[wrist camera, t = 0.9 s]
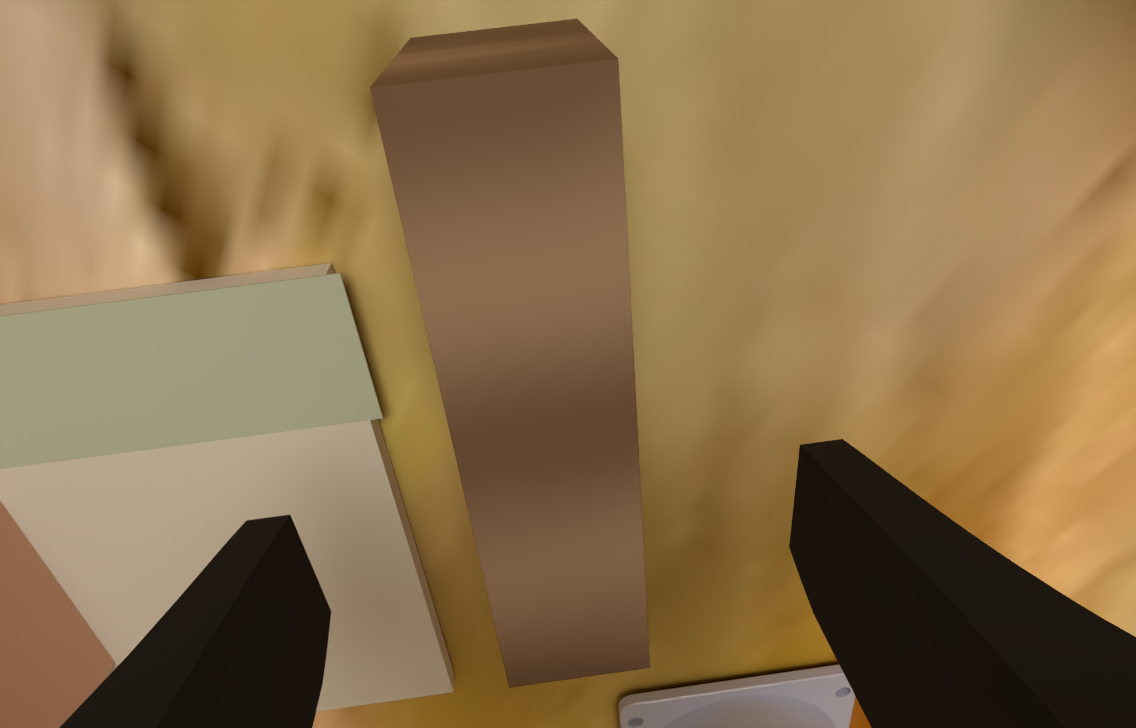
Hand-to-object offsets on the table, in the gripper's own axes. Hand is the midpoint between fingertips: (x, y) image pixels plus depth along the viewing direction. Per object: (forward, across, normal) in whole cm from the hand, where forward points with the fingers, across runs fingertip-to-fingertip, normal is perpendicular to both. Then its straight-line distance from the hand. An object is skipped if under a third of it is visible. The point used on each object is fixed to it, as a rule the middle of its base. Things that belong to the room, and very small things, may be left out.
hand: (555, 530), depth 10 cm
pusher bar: (+7, 0, 0) cm, 7 cm away
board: (+6, +12, +5) cm, 15 cm away
